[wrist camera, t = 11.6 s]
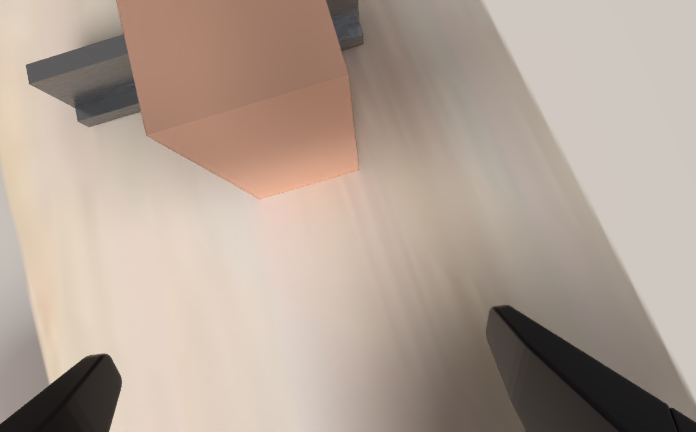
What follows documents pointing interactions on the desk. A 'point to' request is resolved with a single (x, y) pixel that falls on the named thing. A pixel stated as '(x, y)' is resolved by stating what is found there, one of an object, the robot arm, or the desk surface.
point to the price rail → (116, 74)
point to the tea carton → (244, 88)
